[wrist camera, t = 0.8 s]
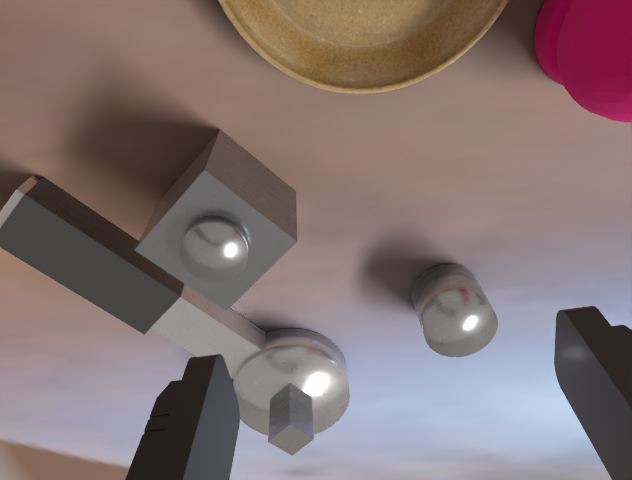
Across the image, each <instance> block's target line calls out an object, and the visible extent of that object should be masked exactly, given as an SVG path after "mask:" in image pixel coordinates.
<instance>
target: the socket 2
mask: <svg viewBox="0 0 632 480" xmlns="http://www.w3.org/2000/svg"><path fill="white" fill-rule="evenodd" d="M411 297H412V301H413V304H414V307H415V310H416V313H417V316H418V319H419V322H420V324H421V327H422V330H423V333H424V336H425V339H426V342H427V344H428V345H429V346H430V348H431V349H432V350H434V351H435V352H437V353H439V354H441V355H444V356H448V357H462V356H467V355H470V354H473V353H475V352H477V351H479V350H481V349H482V348H484V347H485V346H486V345H487V344H488V343H489V342H490V341H491V340H492V339H493V337H494V335H495V333H496V331H497V326H498V320H497V316H496V314H495V312H494V310H493V308H492V306H491V305H490V303H489V301H488V299H487V298H486V296H485V294H484V292H483V290H482V289H481V287H480V285H479V283H478V282H477V280H476V278H475V276H474V275H473V273H472V272H471V271H470V270H469V269H467V268H466V267H464V266H462V265H459V264H454V263H444V264H439V265H436V266H433V267H431V268H429V269H427V270H426V271H424V272H423V273H422V274H421V275H420V276H419V277H418V278H417V279H416V281H415V282H414V285H413V287H412V292H411Z"/></svg>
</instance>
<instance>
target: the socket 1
mask: <svg viewBox="0 0 632 480" xmlns="http://www.w3.org/2000/svg"><path fill="white" fill-rule="evenodd" d="M296 242H297V218H296V191H294V190H293V189H292V188H291V187H290V186H288V185H287V184H286V183H285V182H283V181H282V180H281V179H280V178H279V177H277V176H276V175H275V174H274V173H273V172H271V171H270V170H269V169H268V168H266V167H265V166H264V165H263V164H262V163H260V162H259V161H258V160H257V159H255V158H254V157H253V156H252V155H251V154H249V153H248V152H247V151H246V150H245V149H243V148H242V147H241V146H240V145H238V144H237V143H236V142H235V141H234V140H232V139H231V138H230V137H229V136H228V135H226V134H225V133H224V132H223V131H221V130H219V132H218V133H217V134H216V135H215V136H214V137H213V139H212V140H211V141H210V142H209V143H208V144H207V146H206V147H205V148H204V149H203V150H202V151H201V153H200V154H199V155H198V156H197V157H196V158H195V160H194V161H193V162H192V163H191V164H190V165H189V167H188V168H187V169H186V170H185V171H184V172H183V174H182V175H181V176H180V177H179V178H178V179H177V181H176V182H175V183H174V184H173V185H172V186H171V188H170V189H169V190H168V191H167V192H166V193H165V195H164V196H163V197H162V198H161V200H160V202H159V204H158V206H157V207H156V209H155V211H154V213H153V215H152V217H151V219H150V221H149V223H148V225H147V227H146V229H145V231H144V232H143V234H142V236H141V238H140V240H139V242H138V244H137V246H136V248H135V251H136V252H138V253H139V254H141V255H142V256H144V257H145V258H147V259H148V260H150V261H151V262H153V263H154V264H156V265H157V266H159V267H160V268H162V269H163V270H165V271H166V272H168V273H169V274H171V275H172V276H174V277H175V278H177V279H178V280H180V281H181V282H183V283H184V284H186V285H187V286H189V287H190V288H192V289H193V290H195V291H196V292H198V293H199V294H201V295H202V296H204V297H205V298H207V299H208V300H210V301H211V302H213V303H214V304H216V305H217V306H219V307H220V308H222V309H223V310H225V311H226V310H227V309H228V308H229V307H230V306H232V305H233V304H234V303H235V302H236V301H237V300H238V299H239V298H240V297H241V296H242V295H243V294H244V293H245V292H246V291H247V290H248V289H249V288H250V287H251V286H252V285H253V284H254V283H255V282H256V281H257V280H258V279H259V278H260V277H261V276H262V275H263V274H264V273H265V272H266V271H267V270H268V269H269V268H270V267H272V266H273V265H274V264H275V263H276V262H277V261H278V260H279V259H280V258H281V257H282V256H283V255H284V254H285V253H286V252H287V251H288V250H289V249H290V248H291V247H292V246H293V245H294V244H295V243H296Z"/></svg>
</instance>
